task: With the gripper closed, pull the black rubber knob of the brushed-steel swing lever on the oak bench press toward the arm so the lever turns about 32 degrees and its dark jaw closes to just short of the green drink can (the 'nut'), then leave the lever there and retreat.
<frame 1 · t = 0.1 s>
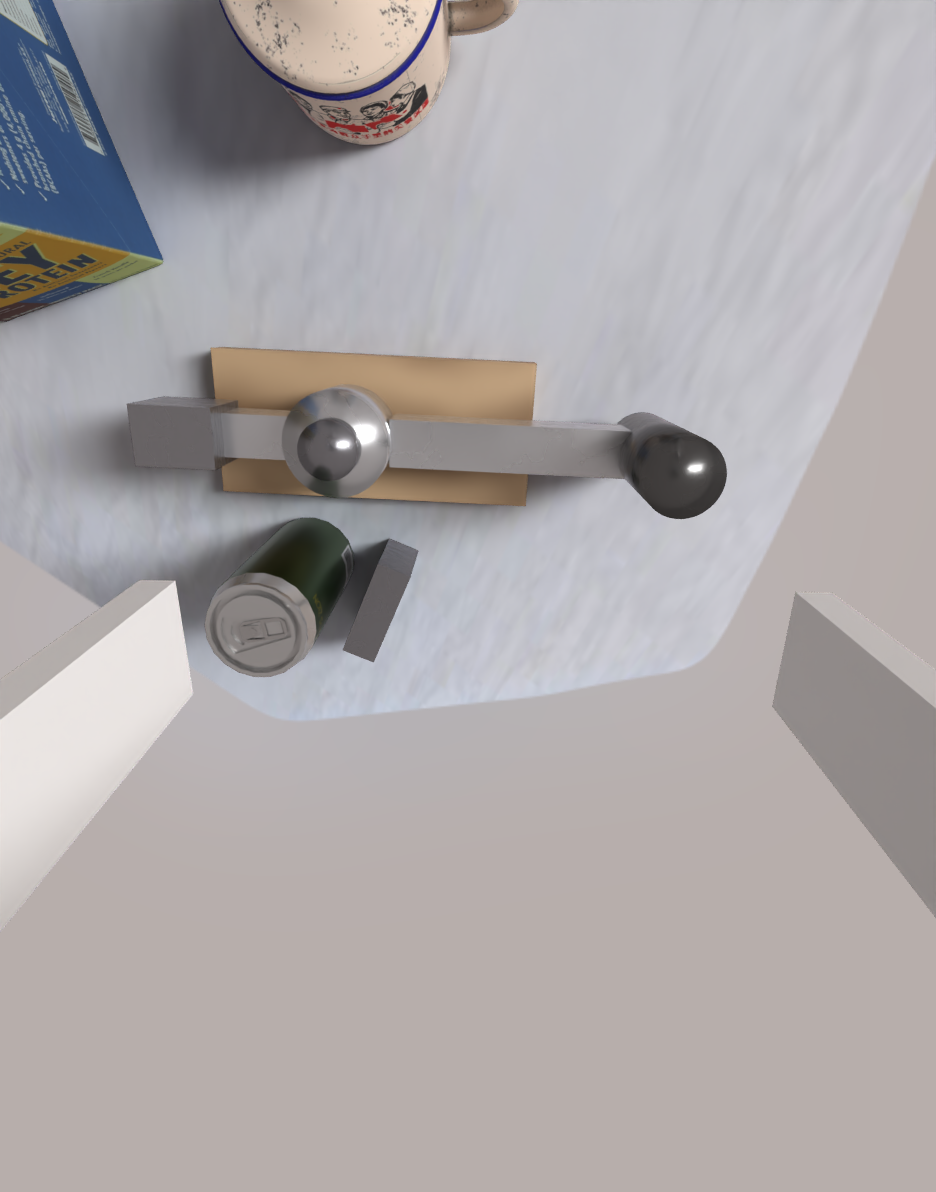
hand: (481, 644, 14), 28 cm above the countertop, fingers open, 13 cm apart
press bench: (362, 424, 40), on the countertop
lever: (415, 447, 33), point 8 cm above the countertop, hinge at 0.0°
protein box: (18, 145, 35), on the countertop
green drink can: (315, 553, 43), on the countertop
pivot and anvil: (362, 424, 40), on the countertop
teacup with lid: (394, 46, 33), on the countertop
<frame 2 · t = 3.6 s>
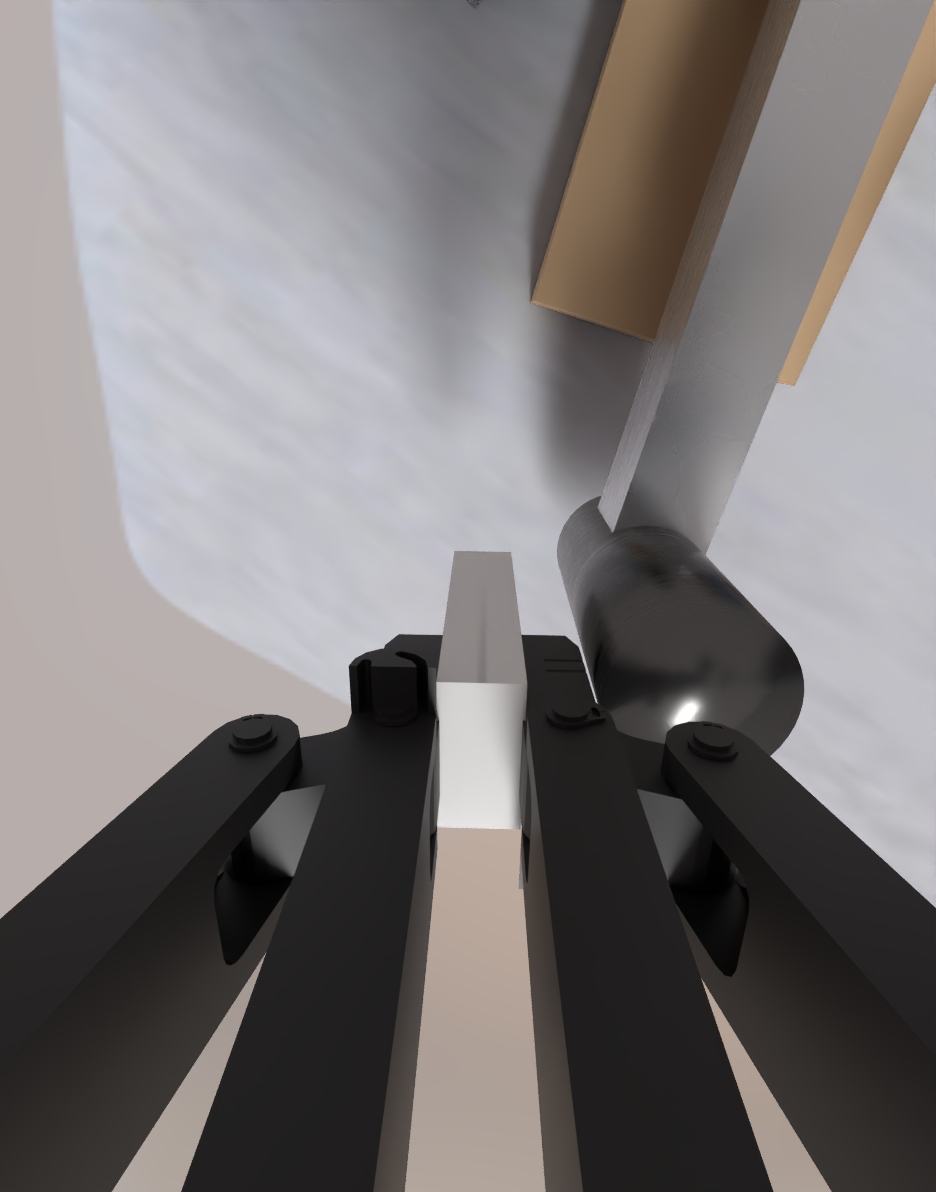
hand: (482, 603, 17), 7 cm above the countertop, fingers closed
lever: (885, 0, 12), point 7 cm above the countertop, hinge at 2.3°, touching gripper
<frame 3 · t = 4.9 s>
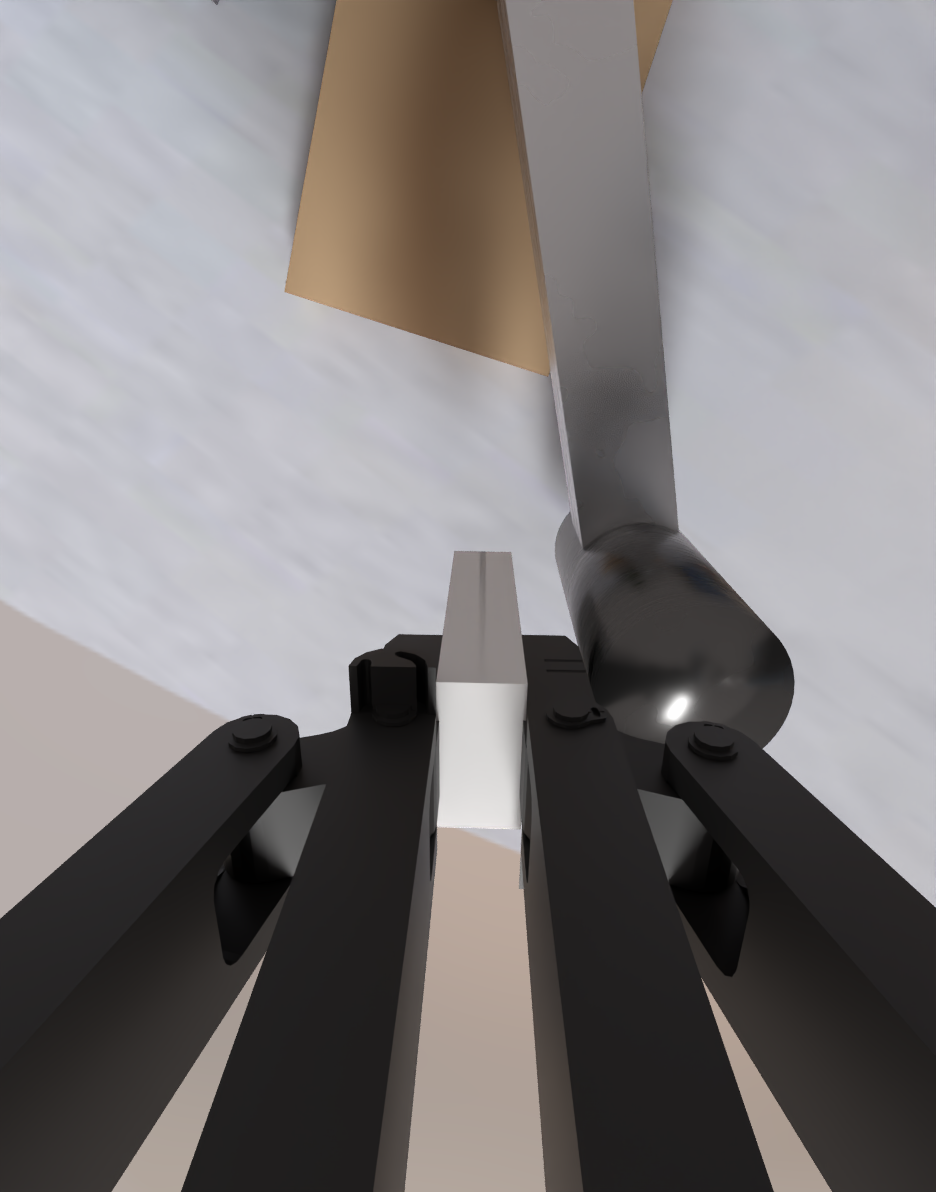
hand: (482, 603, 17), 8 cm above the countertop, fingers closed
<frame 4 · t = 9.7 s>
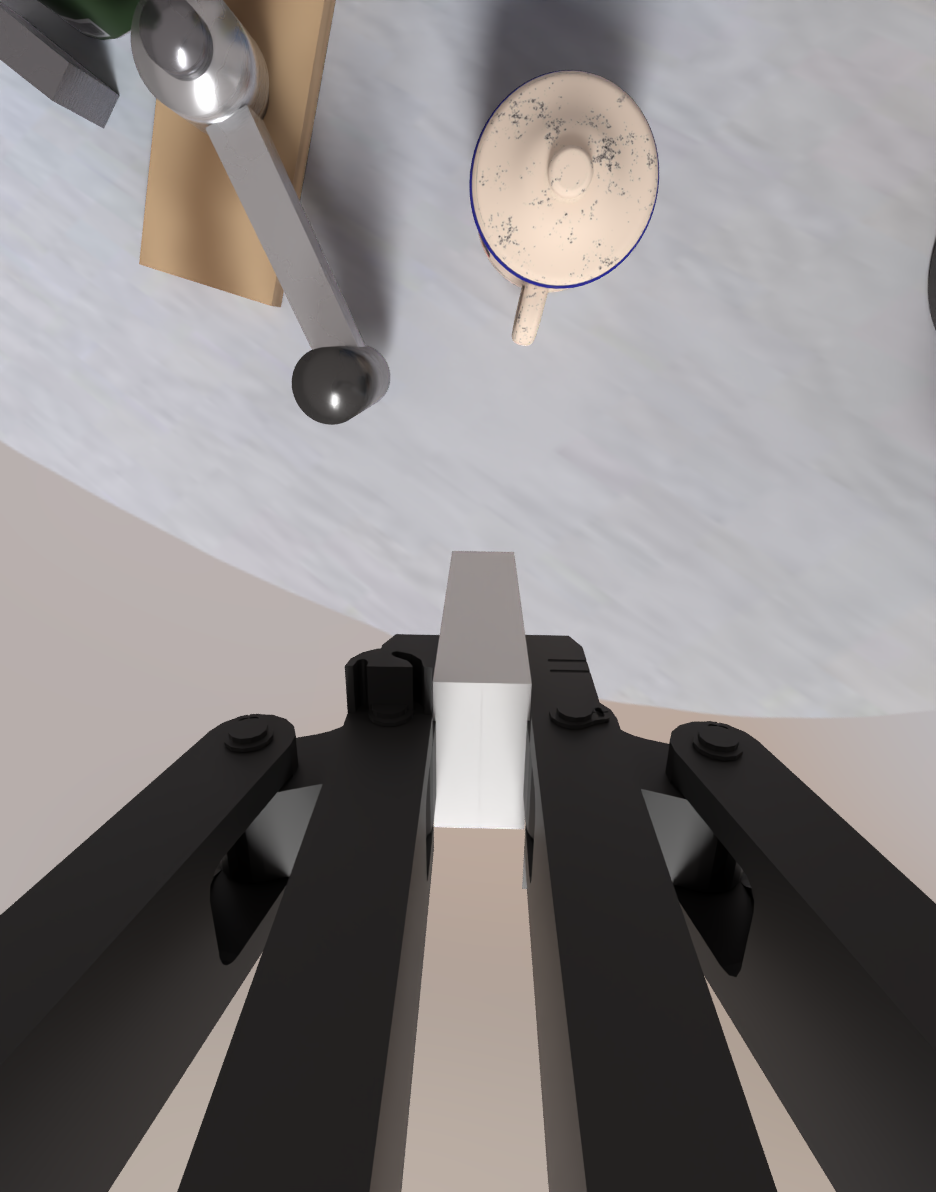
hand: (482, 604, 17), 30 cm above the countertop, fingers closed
press bench: (244, 103, 38), on the countertop
lever: (233, 142, 33), point 7 cm above the countertop, hinge at 40.0°
pivot and anvil: (244, 103, 38), on the countertop
teacup with lid: (541, 241, 41), on the countertop
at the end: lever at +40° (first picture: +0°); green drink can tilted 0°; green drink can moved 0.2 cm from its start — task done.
